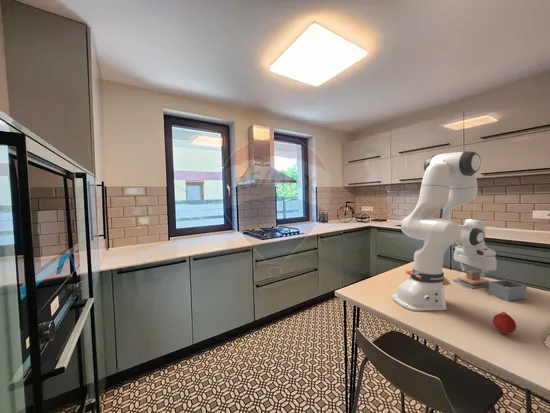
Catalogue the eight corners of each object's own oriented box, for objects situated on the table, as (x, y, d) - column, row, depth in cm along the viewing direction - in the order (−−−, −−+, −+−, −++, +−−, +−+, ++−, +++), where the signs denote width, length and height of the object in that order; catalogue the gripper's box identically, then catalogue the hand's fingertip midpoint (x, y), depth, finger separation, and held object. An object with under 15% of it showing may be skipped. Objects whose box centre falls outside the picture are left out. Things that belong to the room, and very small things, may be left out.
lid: (472, 286, 119) (472, 275, 119) (457, 280, 128) (457, 269, 127) (489, 284, 121) (489, 273, 121) (473, 278, 129) (473, 268, 129)
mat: (472, 288, 118) (472, 287, 118) (452, 280, 129) (452, 279, 129) (494, 285, 120) (494, 285, 120) (473, 278, 131) (473, 277, 131)
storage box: (508, 301, 104) (508, 288, 103) (489, 293, 112) (489, 281, 111) (526, 299, 105) (526, 286, 105) (506, 291, 113) (506, 279, 113)
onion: (503, 328, 85) (504, 307, 84) (521, 338, 79) (521, 315, 79) (488, 329, 85) (488, 308, 84) (504, 339, 79) (505, 316, 78)
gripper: (450, 244, 133) (450, 268, 134) (489, 254, 113) (488, 281, 114) (460, 243, 134) (459, 267, 135) (499, 253, 114) (498, 280, 115)
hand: (473, 273), depth 124 cm, fingers open, 8 cm apart
